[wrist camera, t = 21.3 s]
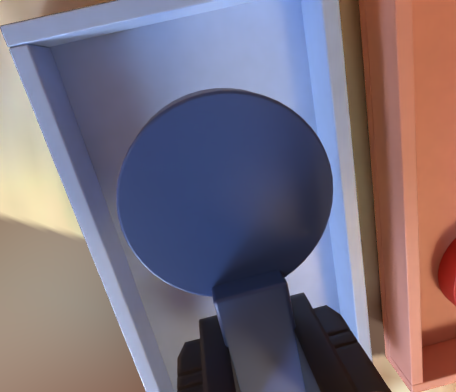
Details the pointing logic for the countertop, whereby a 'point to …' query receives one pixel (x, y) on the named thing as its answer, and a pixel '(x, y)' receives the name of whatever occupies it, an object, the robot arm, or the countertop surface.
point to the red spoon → (448, 273)
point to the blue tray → (163, 95)
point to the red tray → (413, 178)
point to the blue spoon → (230, 217)
